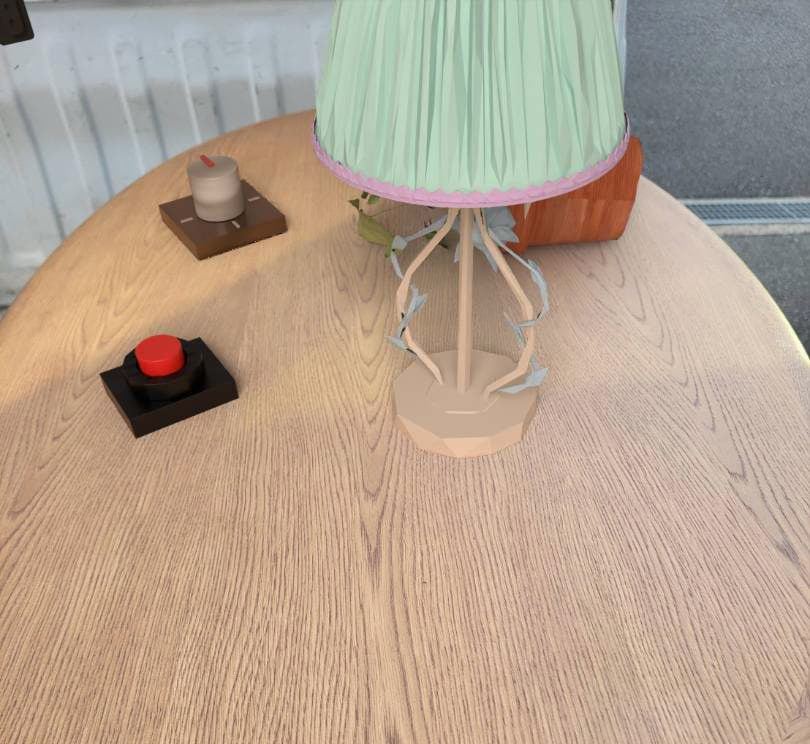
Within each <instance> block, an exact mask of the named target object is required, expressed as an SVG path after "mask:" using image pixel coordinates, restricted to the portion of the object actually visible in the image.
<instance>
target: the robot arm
mask: <svg viewBox="0 0 810 744" xmlns="http://www.w3.org/2000/svg"><path fill="white" fill-rule="evenodd" d="M34 38H35V32H34V29H33V26H32V21H31V19H30V16H29V13H28V10H27V6H26V3H25V0H0V46H3V47H4V46H9V45H14V44H17V43H23V42H28V41H32V40H34Z"/></svg>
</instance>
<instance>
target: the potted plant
mask: <svg viewBox="0 0 810 744" xmlns="http://www.w3.org/2000/svg"><path fill="white" fill-rule="evenodd" d="M643 158H644V157H643V146H642V142H641V139H640V137H639V136H635V135H631V134H630V138H629V142H628V146H627V149H626V151H625V153H624V156H623V157H622V158H621V159H620V160H619V162H618V163H617V164H616V165H615V166H614V167H613V168H612V169H610V170H609V171H608V172H607V173H606V174H604V175H602V176H601V177H600V178H598V179H596V180H594V181H592V182H590V183H589V184H587V185H585V186H582V187H580V188H578V189H575V190H573V191H570V192H567V193H564V194H561V195H557V196H554V197H550V198H547V199H543V200H538V201H535V202H531V205H530V207H529V210H528V213H527V215H526V218H525V214H524V203H522V204H515V205H508V208H509V210H510V212H511V214H512V216H513V218H514V220H515V222H516V224H515V226H514V228H513V230H512V231H513V233H514V234H515V235H516V236H517V237H518V239H519V243H518V242H509V241H507V242H506V244H505V246H506V247H507V248H508V249H510V250H511V251H512V252H514V253H515V254H517V255H518V254H520V255H523V254H524V253H525V252H526V251H527V249H528V248H527V247H528V246H530V247H531V246H545V245H561V244H575V243H576V244H577V243H590V242H605V241H606V242H607V241H618V240H619V239H620V238H622V236H623V234H624V232H625V230H626V228H627V225H628V222H629V219H630V216H631V213H632V210H633V208H634V205H635V202H636V198H637V191H638V185H639V181H640V177H641V174H642V171H643V166H644V165H643V161H644V160H643ZM368 196H369V198H368V201H367V202H366V205H369V206H372V205H376V204H377V203H378V202H379V201H380V198H381V197H380V196H377V195H373V194H370V195H369V193H368V192H365V191H363V190H362V194H361V195H360V198H361V199H363V200H366V199H367V197H368ZM348 203H349V204H351V205H352V207H354V208H355V209H356V210H357V212H358V215H359V216H358V221H357V231H358V236H359V237H361V238H364V239H365V240H366V241H367V242H369V243H376V244H379V245H381V246H387V249H386V251H385V253H384V257H385V258H391V257H390V255H391V248H392V243H393V241H394V238H395V236H393V235H392V234H391V233H390V232H389V231H388V230H387V229H386V228H384V227H383V226H382V225H381V224H380V223H379V222H378V221H376V220H375V218H374V217H376V216H379V215H380V214H382V213H385V212H388V211H390V210H391V211H392V210H394V209H396V208H400V207H403V206H406V205H410V204H411V203H405V204H403V205H402V204H401V205H398V206H395V207H391V208H389V209H385V210H382V211H379V212H377V213H374V214H371V215H368V214H366V213H365V212H364V210H363V208H360V199H359V198H355V199H350V200H348ZM424 206H425V207H427V208H429V209H431V210H435V208H436V207H434V206H426V205H424ZM460 212H461V209H459V211H458V213H457V215H456V217H457V218H458V216H459V215H460ZM446 215H448V213H446ZM428 219H429V220H428V222H429V225H427V224H426V221H425V220H424V222H423V224H424V229H425V228H426V227H428V226H430V225H431V224H432V217H431V214H429V218H428ZM437 232H438V231H437V230H435V231H432V232H430V233H427V234H425V236H426V240H428V241H430V240H431V239H432V238H433V236H434V235H435V234H436V233H437ZM437 245H439V246H440V247H442V248H443V249H445V250H448V249H450V244H446V243H445V242H444V240H443V239H441V240H440V242H439V243H438V244H437ZM498 248H499V250H500V252H501V253H502V254H510V253H509V252H508V251H506V250H505V249H504V248H503V247H500V246H498ZM405 249H406V247H405V248H404V249H403V250H401V249H397V250H396V251H395V256H396V255H398V254H401V253H403V252H404V251H405Z"/></svg>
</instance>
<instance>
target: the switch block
mask: <svg viewBox="0 0 810 744" xmlns="http://www.w3.org/2000/svg"><path fill="white" fill-rule="evenodd" d="M175 337H176V338H177V339H178V340H179V341H180V343H181V346H182V350H183V354H184V358H185V362H184V365H183V367H181V368H180V369H179V370H178V371H176V372H173V373H171V374H168V375H165V376H148V375H146V374H144V373H143V372H142V371H141V369H140V366H139V363H138V360H137V357H136V354H135V350H136V347H137V346H135V347H134V348H132V349H131V350H130V351H129V352H127V354H126V355H124V357H123V358H124V359H123V362H122V364H121V365H119V366H116V367H113V368H111V369H108V370H105V371H102V372H100V373H99V378H100V381H101V383H102V385H103V389H104V391H105V393H106V395H107V397H108V398H109V399H110V402H112V404H113V406H114V408H116V411H117V412H118V414H119V415H120V417H121V418H122V420H123V421H124V424H125V425H126V426H127V428H128V429H129V431H130V432H131V434H132V436H133V437H134V438H135V440H137V439H140V438H143V437H144V436H147V435H150V434H153V433H155V432H158V431H160V430H162V429H165V428H167V427H170V426H173V425H175V424H177V423H178V424H179V423H180V422H182V421H185V420H187V419H190V418H193V417H195V416H197V415H200V414H203V413H206V412H207V411H211V410H213V409H216V408H217V407H220V406H223V405H225V404H229V403H231V402H233V401H236V400H238V399H240V397H239V392H238V388H237V387H238V386H237V383H236V378H234V376H233V375H232V374H231V373H230V372H229V371H228V369H227V368H226V367H225V366H224V364H223V363H222V362H221V361H220V360H219V358H218V357H217V356H216V355H215V353H214V352H213V351H212V350H211V348H210V347H209V346H208V345H207V344H206V343H205V341H204V340H203V339H202V338H201V336H198V337H195V338H193V339H190V340H188V339H184V338H181V337H177V336H175Z"/></svg>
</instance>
